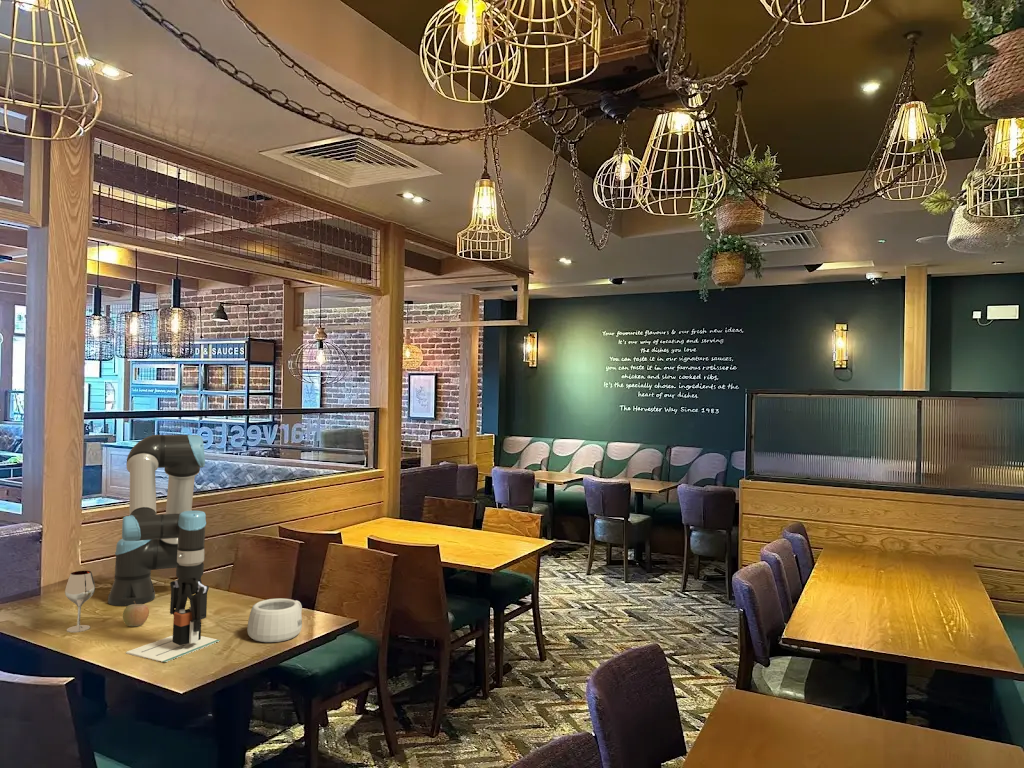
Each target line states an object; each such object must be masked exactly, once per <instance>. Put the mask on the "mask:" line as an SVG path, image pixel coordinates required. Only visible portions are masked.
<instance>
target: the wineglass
mask: <svg viewBox="0 0 1024 768" xmlns="http://www.w3.org/2000/svg"><path fill="white" fill-rule="evenodd" d="M95 591H96V584H95V580H94V576H93V572H92V570H76V571H72V572H71V573H70V574H69V577H68V579H67V583H66V586H65V591H64V594H65V597H66V598H67V600H69V601H70V602H72V603H74V604H75V605H76V607H77V620H76V625H73V626H70V627H68V628H66V632H67V633H82V632H85V631H88V630H90V629H91V626H90V625H88V624H81V613H82V606H83V605H84V604H85V603H86V602H87V601H88V600H89V599H90V598H91V597H93V596H94V593H95Z"/></svg>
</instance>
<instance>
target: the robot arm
mask: <svg viewBox="0 0 1024 768" xmlns="http://www.w3.org/2000/svg"><path fill="white" fill-rule="evenodd" d="M205 466H206V454H205V445H204V439H203V437H202V436H200V435H194V434H193V435H192V434H153V435H150V436H146V437H145V438H143V439H141V440H139V441H138V442H137V443H136V444H134V446H133V447H132V448H131V449H130V451H129V453H128V455H127V458H126V469H127V471H128V473H129V504H128V505H129V506H128V509H129V511H128V513H129V514H128V515H125V516H124V517H122V523H121V538H120V539H119V540H118V541H117V542H116V546H115V547H116V548H115V552H114V555H115V562H114V581H113V583H112V586H111V589H110V592H109V594H108V596H107V603H108V605H111V606H115V607H116V606H119V607H120V606H121V607H127V606H129V605H132V604H135V603H136V604H143V605H144V604H147V603H149V602H151V601H154V600H155V598H156V591H155V588H154V584H153V581H152V578H151V577H152V576H151V575H152V572H151V571H155V570H166V569H176V570H175V571H176V573H175V577H176V578H177V579H176V580H173V581H170V583H169V586H170V605H169V610H170V611H169V613H170V615H173V616H174V613H175V612H178V611H180V610H181V609H185V610H186V607H187V601H188V599H189V604H190V606H189V607H191V613H192V620H190V636H189V643H190V644H191V643H194V642H197V641H198V638H199V631H200V621H201V622H202V620H204V619H207V606H208V603H207V602H208V591H209V585H204V584H203V582H202V576H203V575H204V567H205V566H204V565H205V563H204V561H205V539H206V525H207V521H206V519H207V518H206V517H207V515H206V512H205V511H203V510H193V509H192V508H193V498H194V497H193V496H194V490H195V489H194V487H195V478H196V477H195V476H197V475H198V474H199V473H200V471H201V469H202V468H205ZM158 468H159V469H164V473H165V474H166V475H167V476H168V480H167V493H166V507H165V514H164V513H163V514H157V490H156V489H157V486H156V482H157V481H156V471H157V469H158ZM134 601H135V603H134ZM196 616H197V617H196Z"/></svg>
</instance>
